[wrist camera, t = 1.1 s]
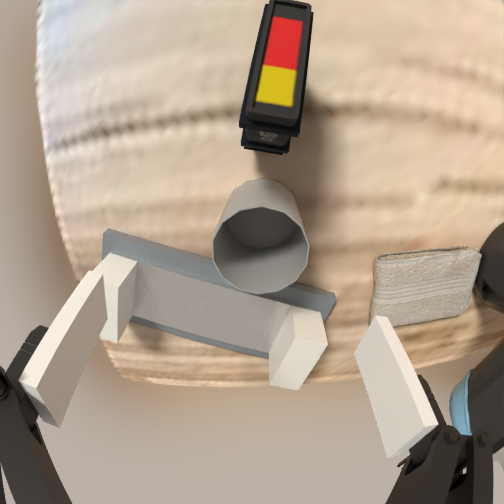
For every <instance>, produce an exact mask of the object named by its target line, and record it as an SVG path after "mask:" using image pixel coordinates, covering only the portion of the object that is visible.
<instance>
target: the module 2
mask: <svg viewBox="0 0 504 504" xmlns="http://www.w3.org/2000/svg"><path fill="white" fill-rule="evenodd" d="M327 345H328V343H327V338H326V334H325V329H324V325H323V320H322V316H321V313H320V312H316V311H312V310H308V309H304V308H300V307H296V306H292V307H291V309H290V311H289V313H288V315H287V317H286V319H285V321H284V323H283V326H282V328H281V330H280V332H279V334H278V336H277V338H276V340H275V342H274V344H273V346H272V348H271V350H270V352H269V385H270V386H276V387H281V388H287V389H292V390H298V389H299V388H300V386H301V385H302V384H303V382H304V381H305V379H306V378H307V376H308V375H309V373H310V372H311V370H312V369H313V367H314V366H315V364H316V362H317V361H318V359H319V358H320V356H321V355H322V353H323V352H324V350H325V348H326V347H327Z"/></svg>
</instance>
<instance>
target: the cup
mask: <svg viewBox="0 0 504 504" xmlns="http://www.w3.org/2000/svg"><path fill="white" fill-rule="evenodd" d="M309 246H310V245H309V242H308V238H307V235H306V232H305V228H304V225H303V222H302V219H301V215H300V212H299V209H298V206H297V204H296V201H295V199H294V196H293V194H292V193H291V192H290V191H289V190H288V189H287V188H286V187H284V186H283V185H282V184H281V183H280V182H276V181H272V180H269V179H265V178H261V179H255V180H250V181H246V182H245V183H243V184H242V185H241V186H239V187H238V188H236V189H235V190H234V191H233V192H232V194H231V196H230V198H229V200H228V202H227V204H226V206H225V209H224V211H223V214H222V216H221V219H220V221H219V224H218V226H217V229H216V231H215V234H214V236H213V239H212V261H213V263H214V264H215V266H216V268H217V270H218V272H219V273H220V275H221V277H222V278H223V279H225V280H226V281H227V282H229V283H230V284H231V285H233V286H234V287H236V288H237V289H239V290H243V291H247V292H251V293H255V294H263V293H270V292H277V291H280V290H282V289H283V288H285V287H287V286H288V285H290V284H292V283H293V282H295V281H296V280H297V279H298V277H299V276H300V274H301V273H302V272H303V270H304V269H305V267H306V266H307V262H308V254H309Z"/></svg>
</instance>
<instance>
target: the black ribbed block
mask: <svg viewBox="0 0 504 504" xmlns="http://www.w3.org/2000/svg"><path fill="white" fill-rule="evenodd" d="M312 23H313V12H311V5H310V4H308V3H304V2H299V1H293V0H270V1H269V4H265V8H264V12H263V16H262V20H261V24H260V28H259V32H258V37H257V41H256V45H255V50H254V54H253V58H252V63H251V67H250V72H249V77H248V81H247V86H246V90H245V95H244V100H243V105H242V110H241V114H240V119H239V127H240V128H243V133H242V139H241V146H244V149H249V150H255V151H262V152H267V153H273V154H279V155H282V154H283V153H285V154H287V153H288V152H289V147H290V140H291V136H292V137H298V135H299V133H300V126H301V118H302V110H303V102H304V94H305V86H306V78H307V69H308V60H309V51H310V42H311V33H312Z"/></svg>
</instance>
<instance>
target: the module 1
mask: <svg viewBox="0 0 504 504" xmlns="http://www.w3.org/2000/svg"><path fill="white" fill-rule="evenodd" d="M93 272H98V273H102V274H103V277H104V288H105V298H106V307H107V316H108V319H107V321H106V323H105V325H104V327H103V329H102V331H101V333H100V335H99V337H102V338H104V339H107V340H110V341H112V342H115V343H118V341H119V339H120V338H121V336H122V334H123V332H124V330H125V328H126V327H127V325H128V323H129V321H130V319H131V318H132V316H133V307H134V293H135V282H136V272H137V261H134V260H131V259H128V258H125V257H122V256H118V255H115V254H112V253H109V254H108V255H107V256H106V257H105V258H104V259H103V260H102V261H101V263H100V264H99V265H98V266H97V267H96V268H95V269H94V270H93Z"/></svg>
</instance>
